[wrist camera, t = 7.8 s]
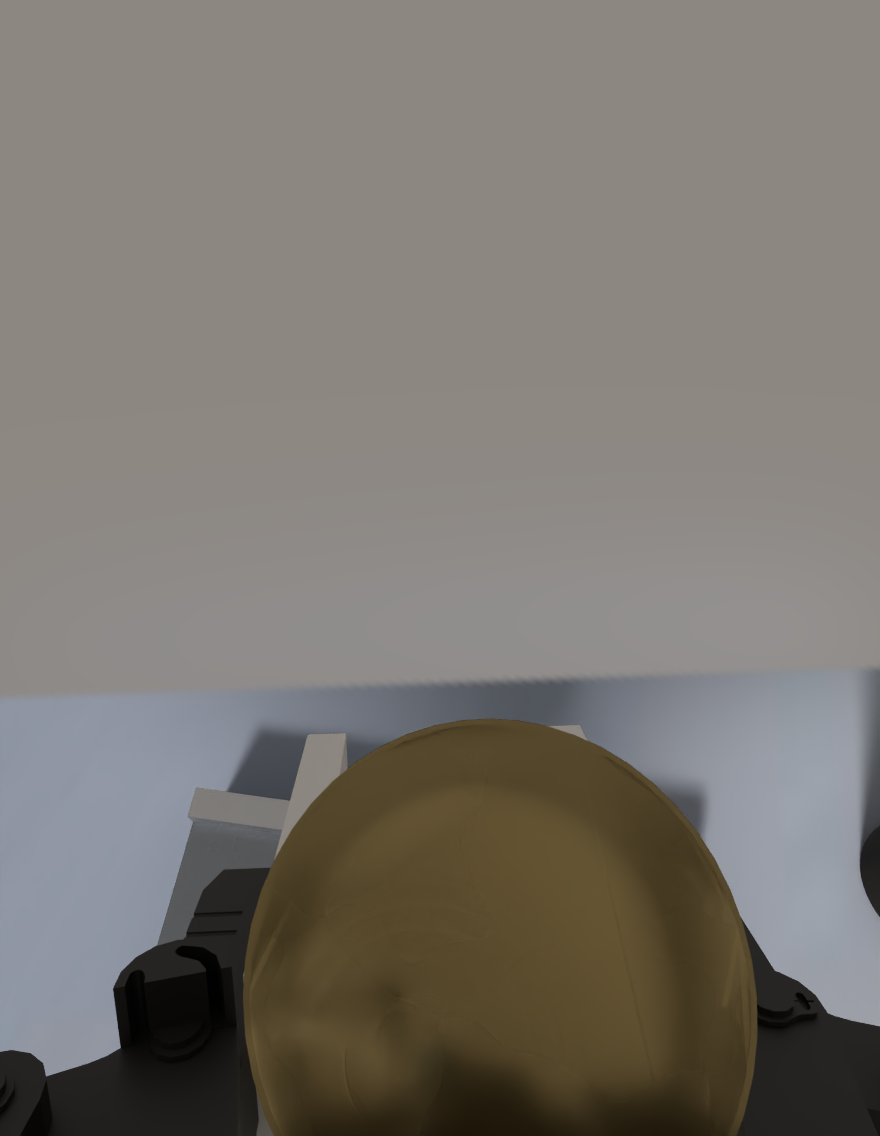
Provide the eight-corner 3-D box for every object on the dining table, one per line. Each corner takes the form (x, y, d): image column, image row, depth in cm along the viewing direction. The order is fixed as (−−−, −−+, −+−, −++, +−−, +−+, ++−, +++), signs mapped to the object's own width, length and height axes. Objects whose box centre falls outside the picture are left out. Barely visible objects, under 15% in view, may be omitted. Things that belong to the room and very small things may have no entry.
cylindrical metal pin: (335, 1121, 16) (174, 1247, 5) (371, 901, 18) (305, 693, 8) (541, 1154, 15) (782, 1349, 5) (552, 927, 18) (738, 749, 7)
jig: (106, 1207, 24) (65, 1227, 21) (216, 812, 30) (196, 787, 27) (700, 1305, 23) (739, 1340, 20) (685, 878, 29) (714, 860, 27)
